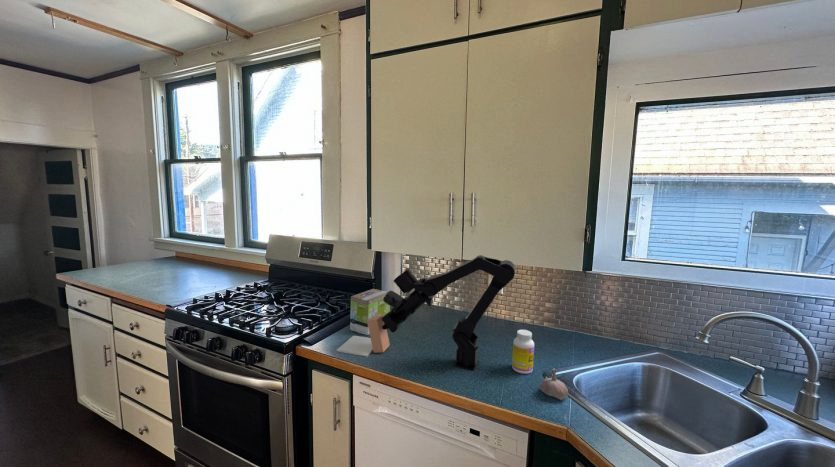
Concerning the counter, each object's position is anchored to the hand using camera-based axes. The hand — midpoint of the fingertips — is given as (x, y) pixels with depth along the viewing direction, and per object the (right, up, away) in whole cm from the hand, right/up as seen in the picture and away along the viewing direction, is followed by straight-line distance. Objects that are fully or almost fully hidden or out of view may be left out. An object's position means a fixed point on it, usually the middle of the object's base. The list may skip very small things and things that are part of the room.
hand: (383, 328), depth 125 cm
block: (-1, -8, +1) cm, 8 cm away
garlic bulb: (+52, -13, -25) cm, 59 cm away
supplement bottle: (+47, -11, -11) cm, 50 cm away
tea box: (-8, -6, +22) cm, 24 cm away
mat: (-9, -8, +4) cm, 13 cm away
